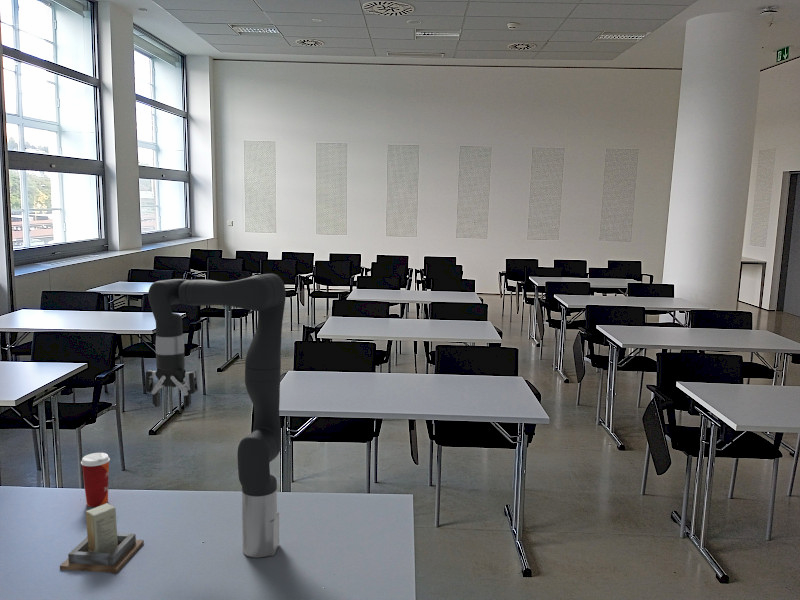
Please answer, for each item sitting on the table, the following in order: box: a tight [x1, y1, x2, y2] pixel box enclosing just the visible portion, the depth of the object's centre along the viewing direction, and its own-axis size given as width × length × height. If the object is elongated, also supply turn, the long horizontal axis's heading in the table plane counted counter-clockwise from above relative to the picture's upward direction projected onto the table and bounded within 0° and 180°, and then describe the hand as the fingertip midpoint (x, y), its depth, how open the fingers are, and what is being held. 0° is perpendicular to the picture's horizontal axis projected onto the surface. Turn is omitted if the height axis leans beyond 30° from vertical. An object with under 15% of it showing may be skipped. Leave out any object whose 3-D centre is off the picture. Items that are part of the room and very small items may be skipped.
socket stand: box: [59, 532, 145, 574], centre depth 176 cm, size 15×15×4 cm
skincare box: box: [85, 502, 118, 553], centre depth 176 cm, size 6×4×12 cm
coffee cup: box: [80, 452, 111, 508], centre depth 206 cm, size 8×8×15 cm
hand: (172, 406), depth 189 cm, fingers open, 8 cm apart
